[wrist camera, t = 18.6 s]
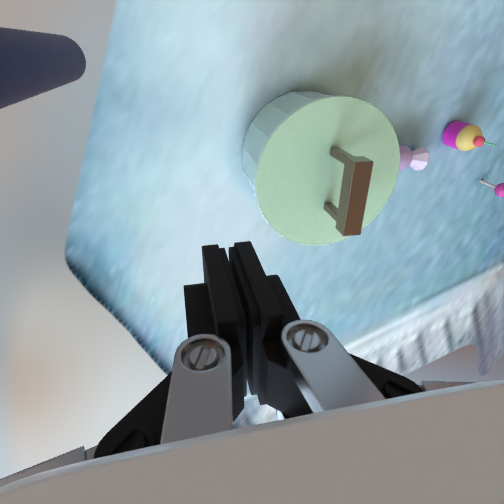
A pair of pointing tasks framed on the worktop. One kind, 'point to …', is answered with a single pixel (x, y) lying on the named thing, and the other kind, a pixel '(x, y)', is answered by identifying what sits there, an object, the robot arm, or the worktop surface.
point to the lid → (327, 170)
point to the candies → (453, 136)
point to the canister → (269, 127)
